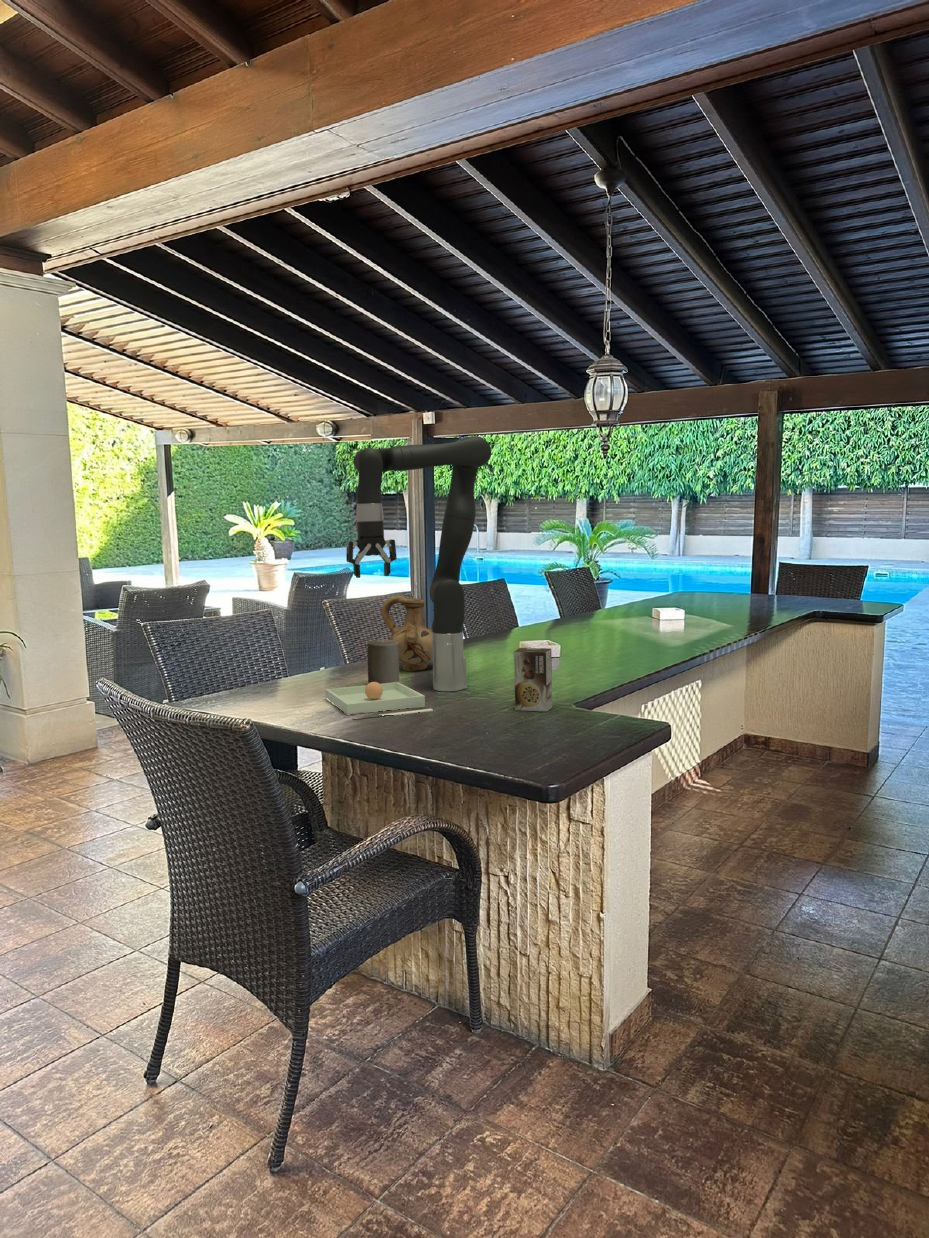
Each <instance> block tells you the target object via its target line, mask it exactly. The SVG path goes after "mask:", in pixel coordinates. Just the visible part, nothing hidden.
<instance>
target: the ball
mask: <svg viewBox="0 0 929 1238" xmlns="http://www.w3.org/2000/svg"><path fill="white" fill-rule="evenodd" d="M366 685H367V686H366V688H365V694H366V696H367V697H368V698H369V699H372V700H376V699H378V698H380V697H381V695H382V693H383V688H382V686H381V685H380V684H379V683H377V682H371V683H369V684H366Z"/></svg>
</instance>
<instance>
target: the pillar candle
mask: <svg viewBox="0 0 929 1238" xmlns="http://www.w3.org/2000/svg"><path fill="white" fill-rule="evenodd" d="M366 651H367V680H368V682H367V683H368V684H369V683H371V682H377V683H379V684H383V683H393V682H399V683H400V661H399V642H397V641H393V640H390V639H389V640H388V639H384V638H383V637H382V638H381V639H378V640H370V641H368V642H367V650H366ZM368 684H367V685H368Z"/></svg>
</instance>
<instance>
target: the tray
mask: <svg viewBox="0 0 929 1238" xmlns="http://www.w3.org/2000/svg"><path fill="white" fill-rule="evenodd" d="M367 685H368V684H365V685H357V686H355V685H354V686H344V687H336V688H325V690H324V691H325V699H326V698H328V699H329V700H330V701H331V702H333V703H334V704H335V705H337V706H338V707H339V708H341V709H342V710H343V711H344V712H346V713H347V714H348V713H355V712H356V713H357V712H374V713H379V712H378V711H383V712H387V711H386V710H392V711H399V710H398V709H400V710H407V709H406V708H409V709H417V708H424V707H426V695H424V694H422V693H420V692H418V691H416V690H414V689H412V688H410V687H409V686H407V685H405V684H403V683H401V682H400V681H399V682H393V683H383V684H380V685H381V686H382V688H383V693H382V695H381V697H380V698H378V699H376V700H372V699H369V698H368V697H367V696H366V694H365V688H366V686H367Z"/></svg>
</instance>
